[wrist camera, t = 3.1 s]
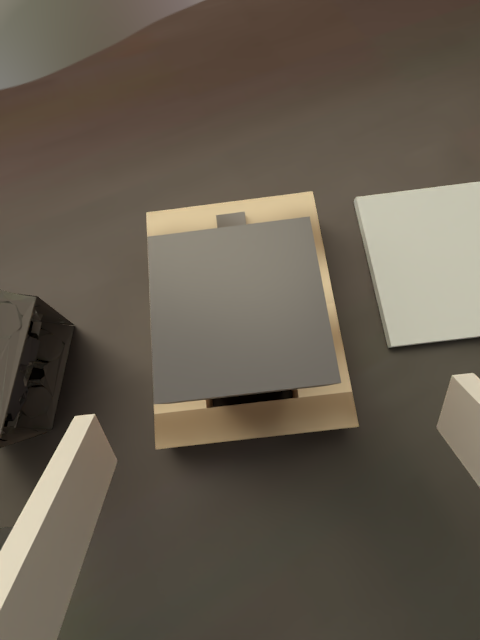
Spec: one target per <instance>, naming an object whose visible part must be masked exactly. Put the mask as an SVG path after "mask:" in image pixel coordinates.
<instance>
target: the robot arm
mask: <svg viewBox="0 0 480 640" xmlns="http://www.w3.org/2000/svg"><path fill="white" fill-rule="evenodd" d="M436 428H437V429H438V431H439V432H440V434H441V435H442V436H443V438H444V439H445V440H446V442H447V443H448V445H449V446H450V447H451V449H452V450H453V451H454V453H455V454H456V456H457V457H458V458H459V460H460V461H461V462H462V464H463V465H464V467H465V468H466V469H467V471H468V472H469V473H470V475H471V476H472V478H473V479H474V480H475V482H476V483H477V484H478V486H479V487H480V379H479V378H478V377H477V376H476V375H475V374H474V373H469V374H460V375H452V377H451V380H450V383H449V387H448V390H447V393H446V397H445V400H444V404H443V407H442V410H441V414H440V417H439V420H438V424H437V427H436ZM116 464H117V459H116V456H115V454H114V452H113V450H112V448H111V446H110V444H109V442H108V440H107V438H106V436H105V434H104V432H103V429H102V427H101V425H100V423H99V421H98V419H97V417H96V415H95V414H89V415H80V416H74V418H73V420H72V422H71V424H70V426H69V427H68V429H67V431H66V433H65V435H64V436H63V438H62V440H61V442H60V444H59V445H58V447H57V449H56V451H55V453H54V455H53V456H52V458H51V460H50V462H49V464H48V465H47V467H46V469H45V471H44V473H43V474H42V476H41V478H40V480H39V482H38V483H37V485H36V487H35V489H34V491H33V493H32V494H31V496H30V498H29V500H28V502H27V503H26V505H25V507H24V509H23V511H22V512H21V514H20V516H19V518H18V520H17V522H16V523H15V525H14V527H4V528H0V640H57V637H58V635H59V632H60V629H61V626H62V623H63V620H64V617H65V614H66V611H67V608H68V605H69V602H70V599H71V596H72V593H73V591H74V588H75V585H76V582H77V579H78V576H79V573H80V570H81V567H82V564H83V561H84V558H85V555H86V552H87V549H88V546H89V544H90V541H91V538H92V535H93V532H94V529H95V526H96V523H97V520H98V517H99V514H100V511H101V508H102V505H103V502H104V500H105V497H106V494H107V491H108V488H109V485H110V482H111V479H112V476H113V473H114V470H115V467H116Z"/></svg>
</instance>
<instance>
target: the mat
mask: <svg viewBox="0 0 480 640" xmlns="http://www.w3.org/2000/svg"><path fill="white" fill-rule="evenodd" d="M354 205H355V210H356V214H357V218H358V222H359V227H360V231H361V235H362V239H363V244H364V248H365V252H366V256H367V261H368V265H369V269H370V274H371V278H372V282H373V286H374V291H375V295H376V299H377V303H378V308H379V312H380V316H381V321H382V325H383V329H384V333H385V338H386V342H387V346H388V348H391V347H399V346H408V345H417V344H425V343H434V342H442V341H451V340H459V339H468V338H477V337H480V182H472V183H464V184H456V185H448V186H441V187H433V188H425V189H417V190H409V191H401V192H393V193H385V194H377V195H369V196H362V197H356V198H355V200H354Z"/></svg>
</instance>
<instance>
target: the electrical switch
mask: <svg viewBox="0 0 480 640" xmlns="http://www.w3.org/2000/svg"><path fill="white" fill-rule="evenodd" d="M59 318H60V319H59ZM63 324H65V325H63ZM69 325H74V324H72V323H71V322H70V321H68V320H67V319H66V318H65V317H63V316H62V315H61V314H59V313H58V312H57V311H56V310H54V309H53V308H52V307H50V306H49V305H48V304H46V303H45V302H44V301H43V300H41V299H40V298H39V297H37V296H30V295H22V294H15V293H11V292H7V291H4V290H1V289H0V448H1V447H4V446H7V445H10V444H13V443H16V442H19V441H22V440H25V439H28V438H31V437H34V436H37V435H40V434H43V433H46V432H49V431H50V430H51V429H52V426H53V421H54V416H55V412H56V407H57V403H58V398H59V394H60V389H61V384H62V380H63V375H64V371H65V366H66V362H67V357H68V352H69V348H70V343H71V339H72V334H73V330H74V326H69ZM40 327H42V329H43V330H40ZM51 333H52V334H53V335H50V334H51ZM63 344H64V346H63ZM59 356H60V357H59ZM58 357H59V358H58ZM36 358H37V359H40V360H44V361H52V362H49V363H43V362H40V361H38V360H36ZM57 358H58V359H57ZM35 361H36V362H35ZM34 362H35V363H34ZM33 367H36V368H40V369H44V372H45V375H44V377H43V378H42V379H40V380H29V377H30V375H31V372H32V369H33ZM29 383H30V384H29ZM35 385H42V386H44V387H45V388H46V389H45V388H44V387H30V386H35ZM29 387H30V388H29ZM28 388H29V389H28ZM52 397H53V399H52ZM37 415H39V416H37ZM18 417H20V418H19V420H18ZM17 421H18V422H17ZM38 429H48V430H38Z"/></svg>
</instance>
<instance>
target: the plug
mask: <svg viewBox="0 0 480 640" xmlns="http://www.w3.org/2000/svg"><path fill="white" fill-rule="evenodd" d="M147 238H148V264H149V291H150V317H151V343H152V369H153V396H154V404H172V403H181V402H190V401H199V400H207V399H216V398H225V397H233V396H242V395H251V394H260V393H268V392H277V391H286V390H295V389H303V388H312V387H321V386H329V385H333V384H338V383H341V378H340V373H339V368H338V362H337V357H336V352H335V347H334V341H333V336H332V331H331V326H330V320H329V315H328V310H327V305H326V299H325V294H324V289H323V284H322V278H321V273H320V268H319V263H318V257H317V252H316V247H315V242H314V236H313V231H312V226H311V221H310V216H309V217H301V218H293V219H285V220H277V221H269V222H261V223H253V224H245V225H237V226H229V227H221V228H213V229H205V230H197V231H189V232H181V233H173V234H165V235H157V236H149V237H147Z"/></svg>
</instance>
